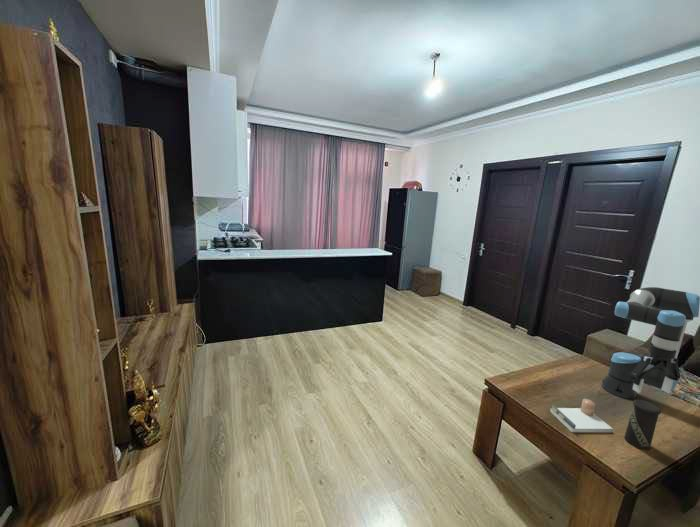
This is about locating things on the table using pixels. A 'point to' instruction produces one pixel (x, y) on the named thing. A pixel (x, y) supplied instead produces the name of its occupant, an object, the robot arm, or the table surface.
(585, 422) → the thin white panel
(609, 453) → the table surface
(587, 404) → the peach rounded cylinder
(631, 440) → the container
